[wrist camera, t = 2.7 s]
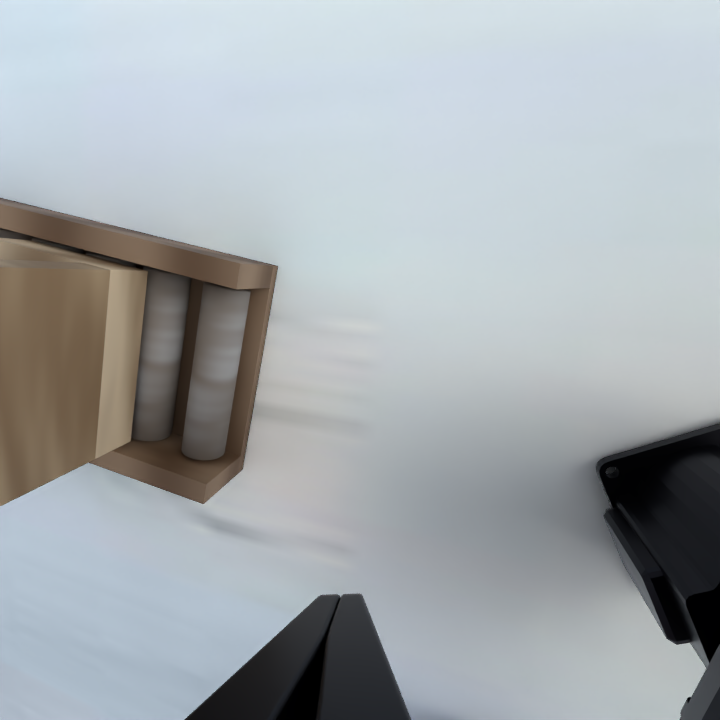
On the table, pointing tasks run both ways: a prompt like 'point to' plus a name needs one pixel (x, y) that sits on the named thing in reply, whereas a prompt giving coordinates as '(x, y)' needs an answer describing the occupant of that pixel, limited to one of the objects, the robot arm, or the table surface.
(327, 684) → the robot arm
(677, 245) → the table surface
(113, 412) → the slab
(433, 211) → the table surface
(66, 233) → the roller track
